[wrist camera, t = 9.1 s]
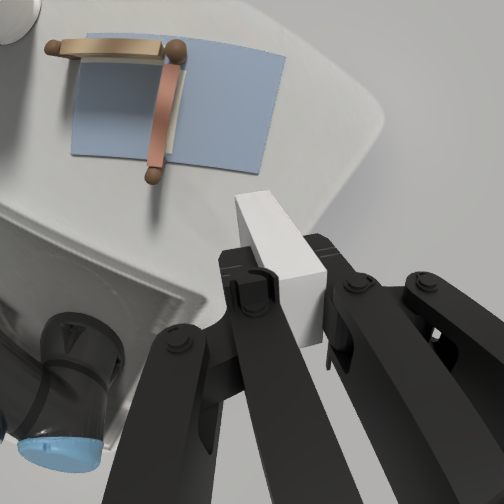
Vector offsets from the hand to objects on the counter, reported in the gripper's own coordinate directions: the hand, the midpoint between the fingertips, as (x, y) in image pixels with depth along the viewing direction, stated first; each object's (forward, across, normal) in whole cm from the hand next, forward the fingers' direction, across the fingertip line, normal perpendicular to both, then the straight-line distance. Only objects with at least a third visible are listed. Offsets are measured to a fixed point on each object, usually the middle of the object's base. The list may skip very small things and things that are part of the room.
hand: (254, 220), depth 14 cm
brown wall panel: (+25, -9, +12) cm, 29 cm away
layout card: (+25, -4, +6) cm, 25 cm away
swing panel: (+24, -5, +3) cm, 25 cm away
